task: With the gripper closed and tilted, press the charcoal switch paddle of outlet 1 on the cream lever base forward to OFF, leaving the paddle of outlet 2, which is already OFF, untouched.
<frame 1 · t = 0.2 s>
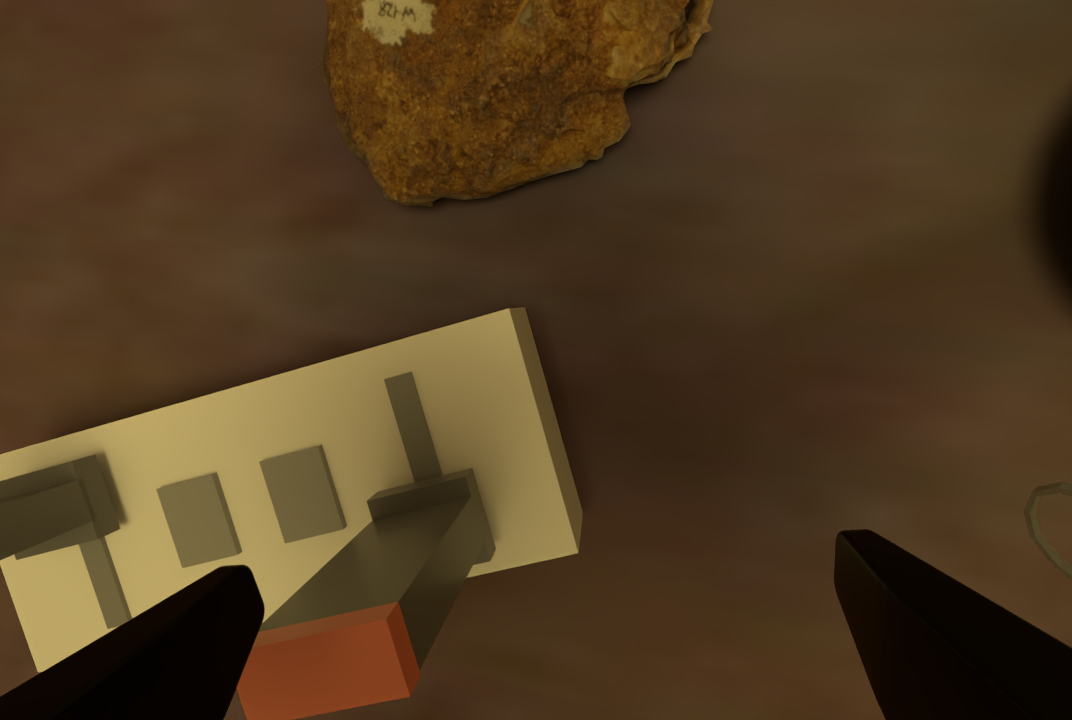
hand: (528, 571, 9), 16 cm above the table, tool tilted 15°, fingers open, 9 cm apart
decorative rock: (517, 46, 24), on the table
cream lever base: (306, 475, 26), on the table
switch 1: (392, 577, 16), point 9 cm above the table, slide at 0.0 cm
coffee pot: (1058, 269, 22), on the table
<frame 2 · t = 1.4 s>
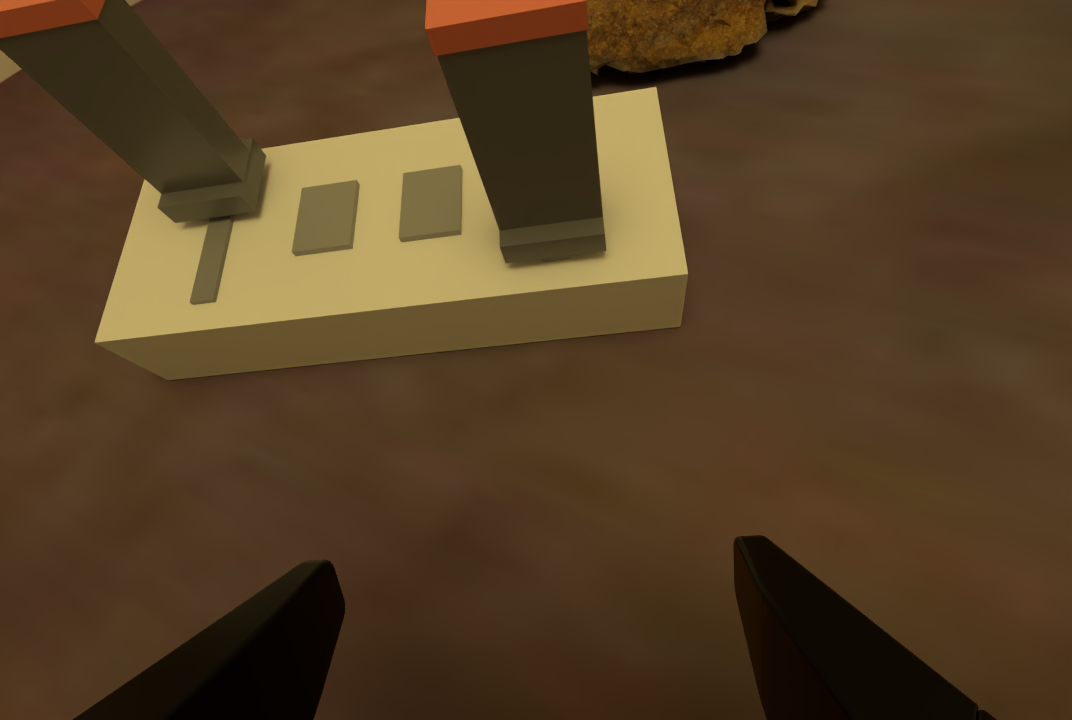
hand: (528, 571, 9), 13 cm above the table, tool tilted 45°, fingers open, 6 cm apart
decorative rock: (678, 13, 32), on the table
switch 2: (143, 107, 21), point 9 cm above the table, slide at 4.0 cm
cream lever base: (414, 267, 27), on the table
switch 1: (534, 132, 17), point 9 cm above the table, slide at 0.0 cm
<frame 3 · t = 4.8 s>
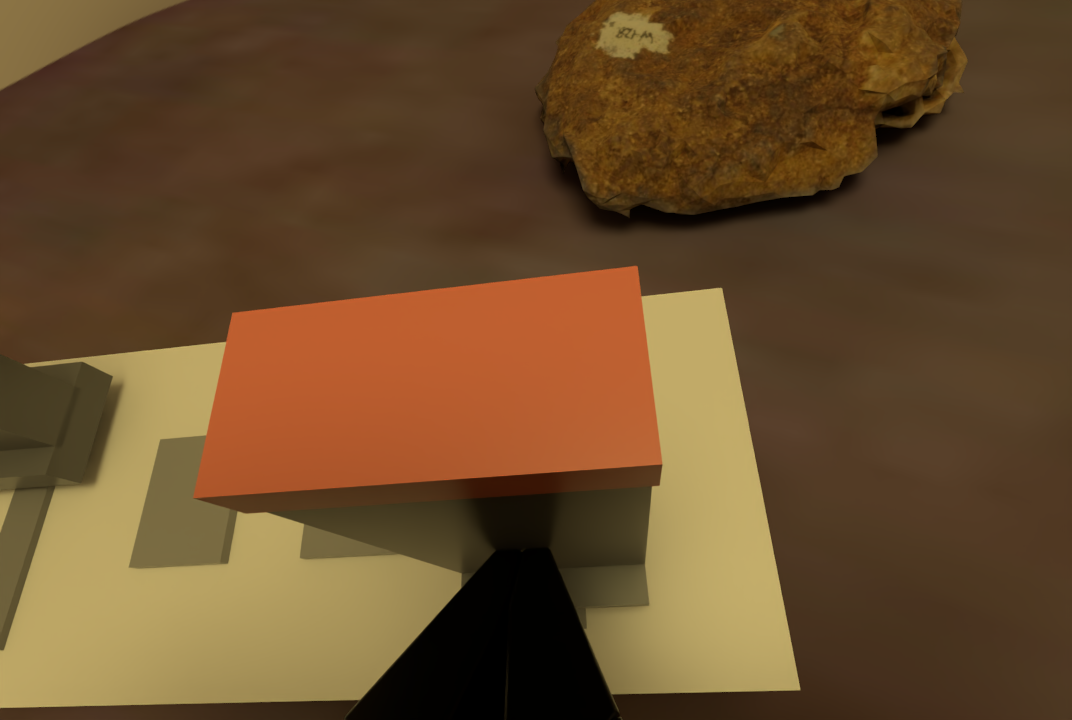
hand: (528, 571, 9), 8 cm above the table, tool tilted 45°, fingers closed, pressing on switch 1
decorative rock: (732, 112, 23), on the table
cream lever base: (348, 520, 18), on the table
switch 1: (518, 491, 9), point 9 cm above the table, slide at 0.6 cm, touching gripper
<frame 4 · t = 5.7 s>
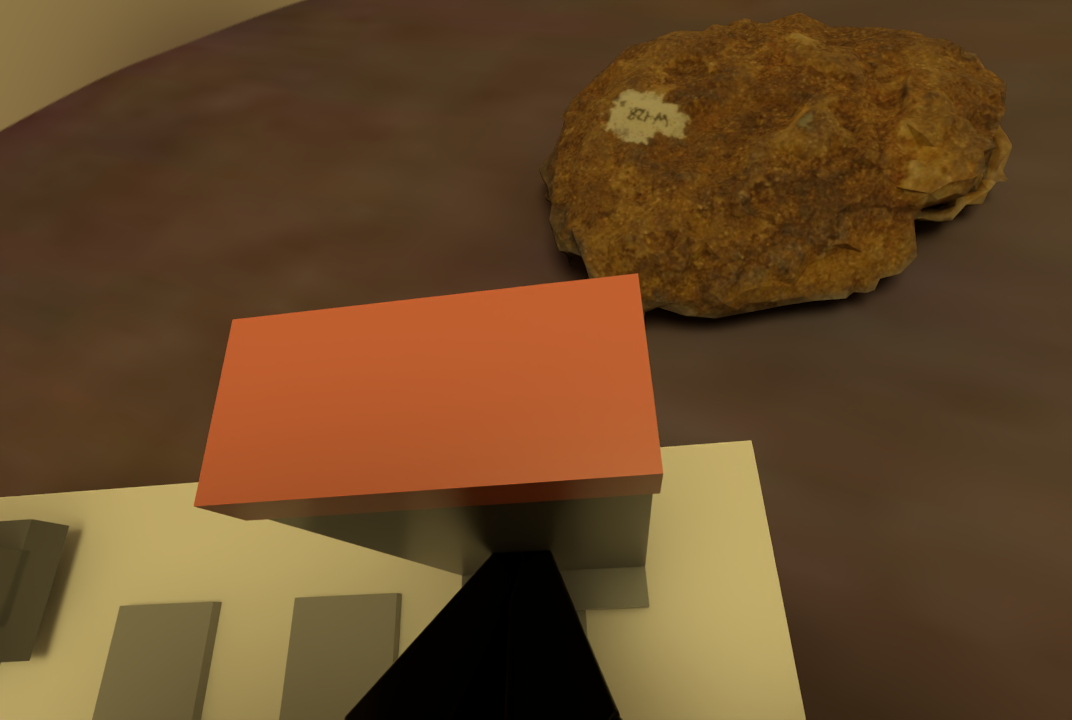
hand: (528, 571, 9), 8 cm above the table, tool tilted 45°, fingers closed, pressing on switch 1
decorative rock: (752, 191, 21), on the table
cream lever base: (334, 667, 16), on the table
switch 1: (519, 494, 9), point 9 cm above the table, slide at 4.6 cm, touching gripper
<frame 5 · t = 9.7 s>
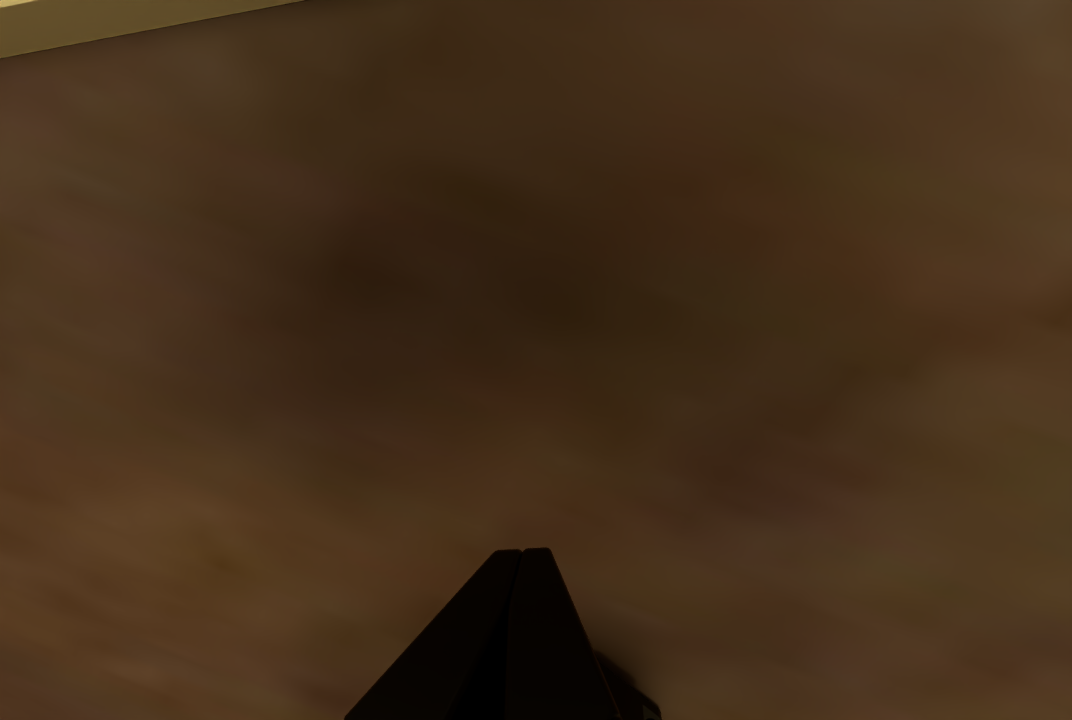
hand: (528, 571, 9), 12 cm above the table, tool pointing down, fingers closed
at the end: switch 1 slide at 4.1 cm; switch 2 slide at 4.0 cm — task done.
